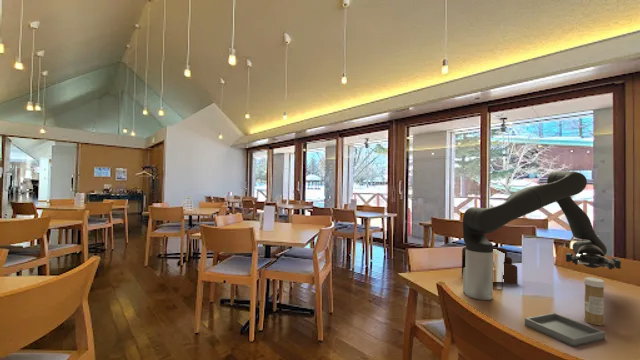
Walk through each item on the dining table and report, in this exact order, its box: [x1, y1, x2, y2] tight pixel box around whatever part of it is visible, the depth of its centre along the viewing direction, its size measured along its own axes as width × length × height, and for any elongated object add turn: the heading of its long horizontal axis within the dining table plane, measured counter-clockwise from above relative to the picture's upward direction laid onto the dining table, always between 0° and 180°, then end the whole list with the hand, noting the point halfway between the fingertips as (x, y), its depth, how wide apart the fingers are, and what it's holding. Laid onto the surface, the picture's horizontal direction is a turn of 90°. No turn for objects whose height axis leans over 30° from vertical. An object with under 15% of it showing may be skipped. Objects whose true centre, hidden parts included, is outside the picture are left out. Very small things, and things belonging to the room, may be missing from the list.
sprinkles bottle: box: [583, 276, 605, 326], centre depth 93 cm, size 5×5×13 cm
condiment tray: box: [524, 312, 606, 348], centre depth 86 cm, size 13×13×2 cm
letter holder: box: [461, 246, 519, 285], centre depth 135 cm, size 10×20×14 cm, turn 85°
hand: (592, 264), depth 101 cm, fingers open, 8 cm apart
